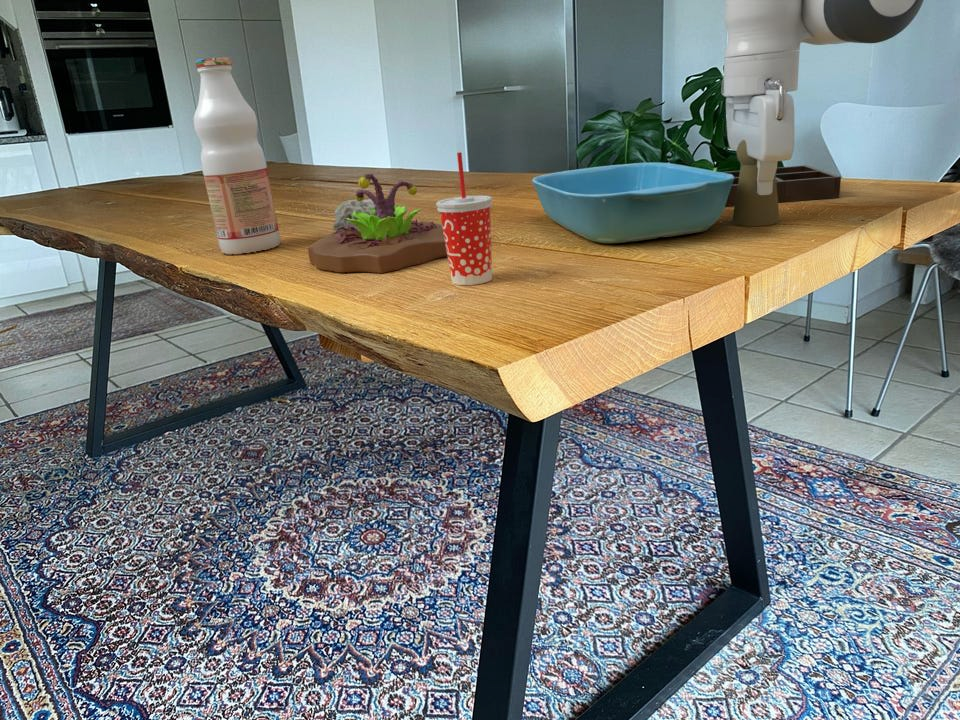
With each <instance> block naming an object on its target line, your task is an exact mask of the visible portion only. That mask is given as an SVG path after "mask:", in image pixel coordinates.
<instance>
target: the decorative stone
mask: <svg viewBox="0 0 960 720" xmlns="http://www.w3.org/2000/svg"><path fill="white" fill-rule="evenodd" d="M372 208H375V204H374V203H373V201H372V200H371V199H370V198H368V199H364V200H363V201H361V202H360V201H357V200H356V199H348V200H346V201H343V202H342V203H341V204H339V205H338V207H337V208H336V209H335V211H334V213H333V214H334V217H335V219H334V221H333V226H332V227H333V229H334V231H335V233H336V232H337V230H338V228H339V227H344V228H346V229H347V228H348V227H350V226H353V227H354V228H355V229H357V226H356V225H355V224H353V223H351V222H350V221H348V220H347V218H349V219H353V220H358V219H357V218H356V217H354V215H353V214H354V212H355V211H357V212H363V213H366V214H368V215H370V216H371V209H372ZM358 221H359V220H358ZM350 229H351V228H350ZM341 230H344V229H340V230H339V231H338V233H339V232H340V231H341Z"/></svg>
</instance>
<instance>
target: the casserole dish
mask: <svg viewBox="0 0 960 720" xmlns="http://www.w3.org/2000/svg"><path fill="white" fill-rule="evenodd" d="M722 172H723V171H716V170H711V169H706V168H699V167H694V166H690V165H689V166H688V165H685V164H684V165H683V164H677V163H670V162H659V161H658V162H657V161H655V162H636V163H633V162H632V163H626V164H625V163H623V164H611V165H602V166H601V165H600V166H594V167H585V168H578V169H577V168H576V169H570V170H563V171H556V172H551V173H545V174H542V175H538V176H535V177H533V178H532V180H531V181H532V185H533V187H534V189H535V192H536V194H537V197H538V200H539V202H540V205H541V207H542V209H543V211H544V213H545V214H546V216H547V217H548V218H549V219H550V220H551V221H554V222H555V223H556V224H558V225H560V226H561V227H562V228H565V229H567V230H568V231H570V232H573V233H574V234H576V235H578V236H580V237H582V238H585V239H586V240H589V241H592V242H596V243H602V244H618V243H619V244H620V243H628V242H638V241H639V242H640V241H645V240H652V239H653V240H655V239H658V238H660V237H661V238H668V237H677V236H683V235H689V234H695V233H701V232H705V231H707V230H708V229H709V228H711V226H713V225H714V224H715V223H716V222H717V221H718V220H719V219H720V218H721V216H722V214H723V211H724V209H725V207H726V206H725V204H726V202H727V199H728V195H729V192H730V189H731V186H732V183H733V180H734V176H733V175H731V174H728V173H722Z"/></svg>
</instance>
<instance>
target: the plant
mask: <svg viewBox="0 0 960 720" xmlns="http://www.w3.org/2000/svg"><path fill="white" fill-rule="evenodd" d="M370 181H372V183H373V187H374V191H375V193H372V192H371V191H369V190H366V189H367V188H369V186H370V183H371V182H370ZM357 184H358V186H359V188H360V189H358V190H356V192H355V193H354V198H355V199H354V200H357V201H360V202H361V201H363V200H365V196H367V197H368V199H371V200H372V201H373V203H374V204H375V208H372V209H371V216H370V215H368V214H366V213H363V212H357V211H355V212H354V214H353V215H354V217H356V218H357V219H358V220H359V221H358V220H353V219H349V218H347V220H348V221H350V222H351V223H353V224H355V225H356V226H357V229H355V228H354V227H353V226H350V227H348V228H347V229H346V228H344V227H339V228H338V230H337V232H336V231H335V232H334V233H332V234H329V235H327V236H325V237H322V238H320V239H319V240H317V241H316V242H314V243H312V244H310V245H308V246H307V251H308V252H307V253H308V259H309V263H310V264H311V265H314V266H315V267H316V269H319V270H321V271H326V270H327V271H326V272H333V271H334V272H333V273H340V272H341V274H343V273H344V274H345V272H347V273H357V272H359V273H372V274H373V273H376V274H384V273H388V272H395V271H399V270H402V269H404V268H408V267H413V266H417V265H421V264H424V263H428V262H431V261H434V260H436V259H441V258H448V256H447V251H446V245H445V239H444V233H443V228H442V224H438V223H435V222H434V221H419V222H418V219H417V218H415V220H413V218H414V217H415V216H416V215H418V213H419V212H420V211H421V208H420V207H419V208H417V209H414V210H412V211H410V213H408V215H407V216H406V218H405V219H404V216H405V214H407V212H408V211H407V209H406V205H402V206H400V205H395V204H396V203H395V201H396V200H395V199H396V194H397V192H398V189H400V187H403V186H406V190H407V193H408V194H409V195H411V196H415V195H416V194H417V192H418V189H417V187H416V186H415V185H414V184H413V183H411V182H407V181H404V180H401V181H400V182H399V181H398V182H397V183H395V184H394V185H393V186H392V187H391V190H389V191H388V195H387V197H386V198H385V195H384V192H383V187H382V185H381V184H380V181H379V180H378V178H377V177H376V176H374V174H373V173H370V174H369V173H367V174H365V173H364V175H362V176H361V177H360V178H359V179H358V183H357ZM350 228H351V229H350ZM340 229H344V230H341V231H340V232H339V233H338V231H339V230H340Z"/></svg>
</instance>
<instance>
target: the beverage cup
mask: <svg viewBox="0 0 960 720" xmlns="http://www.w3.org/2000/svg"><path fill="white" fill-rule="evenodd" d="M456 155H457V156H456V157H457V166H458V175H459V186H460V187H459V188H460V194H461V195H460V196H457V197H451V198H444V199H441V200H439V201H437V202H436V204H435V205H436V207H437V209H436V211H437V212H439V215H440V221H441V222H440V223H441V225H442V228H443V233H444V239H445V245H446V251H447V262H448V267H449V272H450V278H451V283H453V285H457V286H473V285H481V284H484V283H488V282H490V281H491V280H492V279H493V260H492V259H493V258H492V253H493V252H492V224H491V222H492V221H491V220H492V219H491V207H492V206H493V202H492V201H493V197H492V196H490V195H466V194H467V193H466V183H465V175H464V173H465V172H464V165H463V164H464V163H463V155H462V152H461V151H460V152H457V153H456Z"/></svg>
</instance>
